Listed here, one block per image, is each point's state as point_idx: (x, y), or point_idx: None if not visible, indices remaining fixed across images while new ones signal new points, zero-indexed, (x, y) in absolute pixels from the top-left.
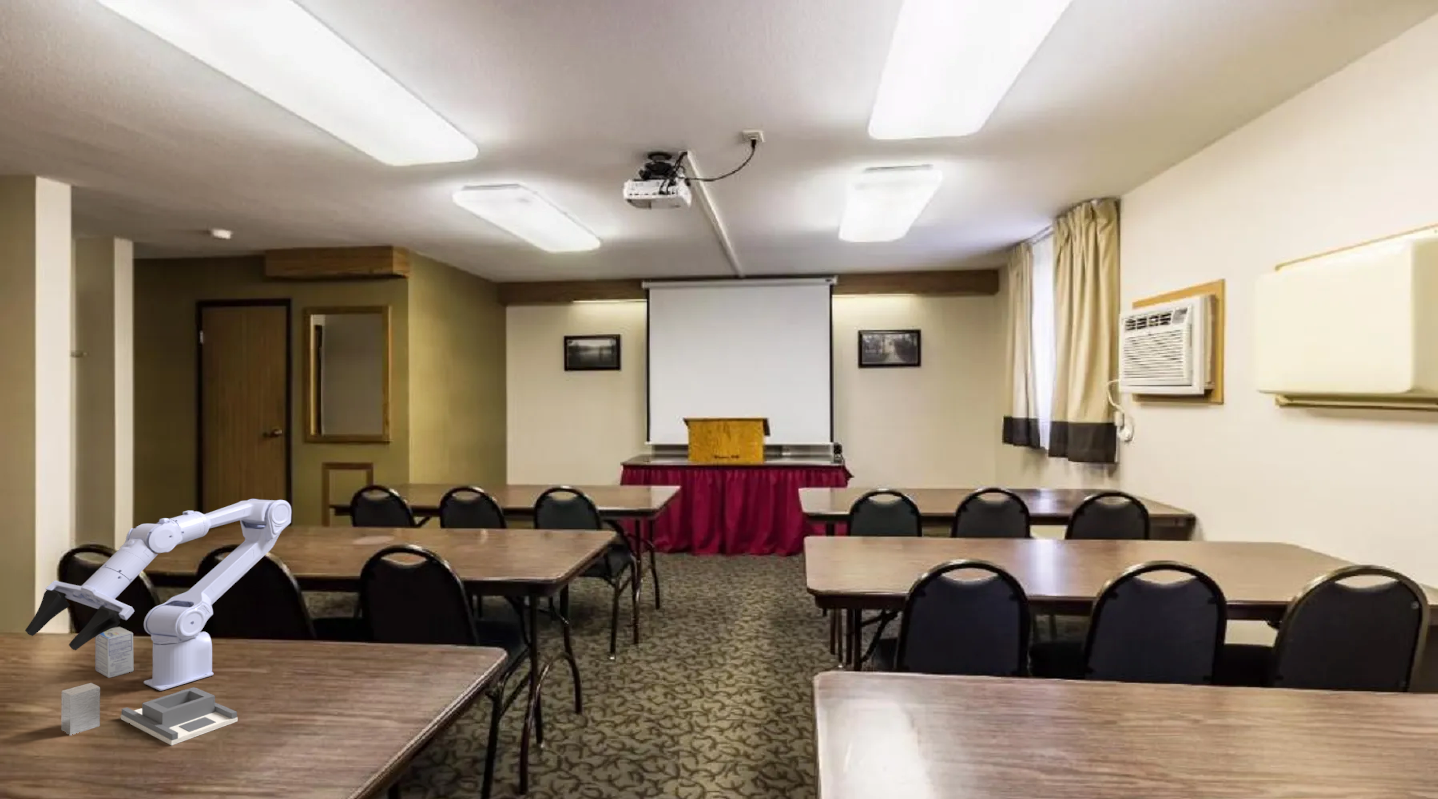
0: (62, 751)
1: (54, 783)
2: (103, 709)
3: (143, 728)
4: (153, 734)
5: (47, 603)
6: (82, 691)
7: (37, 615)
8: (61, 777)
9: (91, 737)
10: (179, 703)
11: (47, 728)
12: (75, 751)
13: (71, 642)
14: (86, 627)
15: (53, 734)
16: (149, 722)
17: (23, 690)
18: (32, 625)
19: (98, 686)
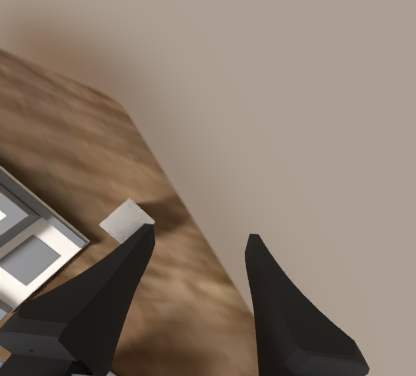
0: (115, 162)
1: (79, 89)
2: None
3: (30, 191)
4: (4, 169)
5: (289, 301)
6: (119, 210)
7: (271, 262)
8: (79, 99)
9: (101, 191)
10: None
11: (169, 230)
12: (99, 157)
13: (147, 226)
14: (120, 256)
15: (153, 211)
16: (8, 179)
17: None
18: (254, 241)
19: (103, 228)
